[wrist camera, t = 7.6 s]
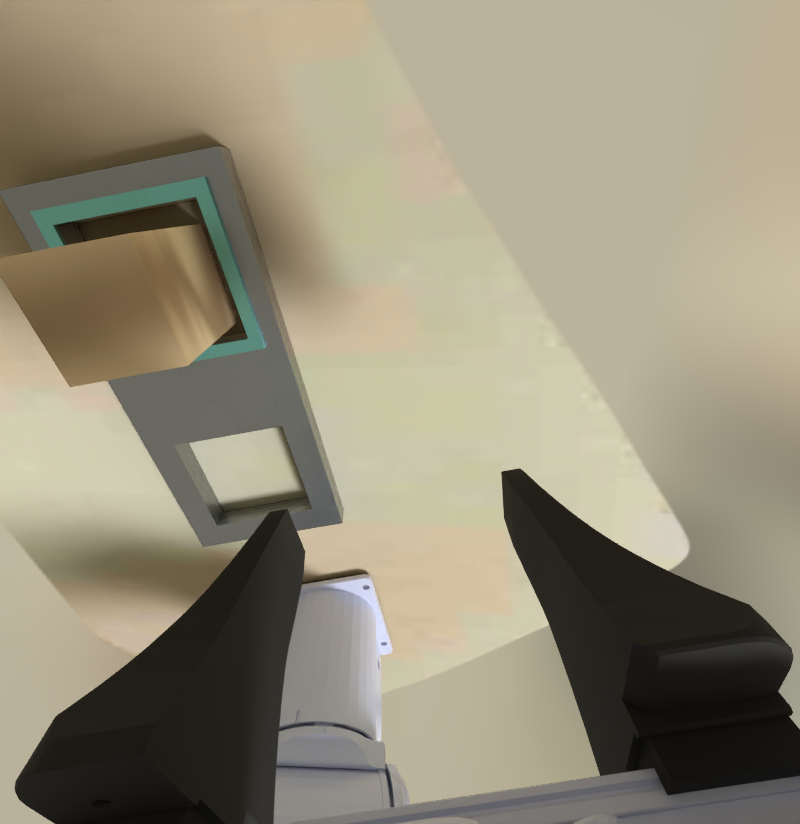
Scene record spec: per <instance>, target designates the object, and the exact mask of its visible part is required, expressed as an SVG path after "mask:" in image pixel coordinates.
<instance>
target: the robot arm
mask: <svg viewBox="0 0 800 824" xmlns="http://www.w3.org/2000/svg"><path fill="white" fill-rule="evenodd" d="M501 473H502V490H503V507H504V519H505V522H506V525H507V528H508V531H509V534H510V537H511V540H512V543H513V546H514V548H515V550H516V553H517V555H518V557H519V559H520V561H521V563H522V565H523V568H524V570H525V572H526V574H527V576H528V578H529V580H530V582H531V585H532V587H533V589H534V591H535V593H536V595H537V597H538V599H539V602H540V604H541V606H542V608H543V610H544V613H545V615H546V617H547V620H548V622H549V625H550V628H551V630H552V633H553V636H554V639H555V641H556V644H557V647H558V650H559V652H560V655H561V658H562V661H563V664H564V666H565V669H566V673H567V675H568V678H569V681H570V684H571V687H572V690H573V693H574V696H575V699H576V702H577V705H578V708H579V711H580V714H581V717H582V720H583V723H584V726H585V729H586V732H587V735H588V738H589V742H590V745H591V748H592V751H593V754H594V757H595V760H596V764H597V767H598V770H599V773H600V776H597V777H590V778H584V779H577V780H570V781H564V782H558V783H550V784H543V785H537V786H530V787H523V788H517V789H510V790H503V791H497V792H490V793H484V794H477V795H470V796H463V797H456V798H449V799H443V800H436V801H429V802H423V803H416V804H410V801H409V795H408V790H407V787H406V784H405V782H404V780H403V778H402V777H401V775H400V773H399V771H398V769H397V767H396V766H395V765H394V764H391V763H389V764H385V743H384V742H380V741H381V733H382V718H381V655H386V654H390V653H391V652H392V644H391V641H390V637H389V634H388V631H387V627H386V624H385V621H384V618H383V614H382V611H381V608H380V605H379V601H378V598H377V595H376V591H375V588H374V585H373V582H372V578H371V577H370V576H369V575H367V574H362V575H356V576H350V577H344V578H338V579H332V580H326V581H320V582H314V583H308V584H302V582H303V573H304V559H305V550H304V548H303V545H302V543H301V540H300V538H299V536H298V533H297V531H296V528H295V526H294V523H293V521H292V518H291V516H290V513H289V511H288V509H283V510H277V511H271V512H269V514H268V515H267V516H266V517H265V519H264V520H263V521H262V522H261V524H260V525H259V526H258V528H257V529H256V530H255V532H254V533H253V534H252V536H251V537H250V538H249V540H248V541H247V542H246V543H245V545H244V546H243V547H242V549H241V550H240V551H239V552H238V554H237V555H236V556H235V557H234V559H233V560H232V561H231V562H230V564H229V565H228V566H227V567H226V568H225V570H224V571H223V572H222V573H221V574H220V575H219V577H218V578H217V579H216V580H215V581H214V582H213V584H212V585H211V586H210V587H209V588H208V589H207V590H206V591H205V593H204V594H203V595H202V596H201V597H200V598H199V599H198V600H197V601H196V602H195V603H194V604H193V605H192V606H191V607H190V608H189V609H188V610H187V611H186V612H185V613H184V614H183V615H182V616H181V617H180V618H179V619H178V620H177V621H176V622H175V623H174V624H173V625H171V626H170V627H169V628H168V629H167V630H166V631H165V632H164V633H163V634H162V635H160V636H159V637H158V638H157V639H156V640H155V641H154V642H153V643H152V644H150V645H149V646H148V647H147V648H146V649H145V650H143V651H142V652H141V653H140V654H139V655H137V656H136V657H135V658H134V659H133V660H131V661H130V662H129V663H128V664H127V665H125V666H124V667H123V668H121V669H120V670H119V671H118V672H116V673H115V674H114V675H112V676H111V677H110V678H109V679H107V680H106V681H105V682H103V683H102V684H101V685H99V686H98V687H97V688H95V689H94V690H92V691H91V692H89V693H88V694H87V695H85V696H84V697H82V698H81V699H80V700H78V701H77V702H76V703H74V704H73V705H71V706H70V707H68V708H67V709H66V710H64V711H63V712H61V713H60V714H58V715H57V716H56V717H55V718H54V720H53V722H52V723H51V725H50V726H49V728H48V730H47V731H46V733H45V735H44V737H43V738H42V739H41V741H40V743H39V744H38V746H37V748H36V749H35V751H34V752H33V754H32V756H31V757H30V759H29V761H28V763H27V764H26V765H25V767H24V769H23V770H22V772H21V774H20V775H19V777H18V778H17V780H16V783H15V792H16V794H17V796H18V798H19V800H20V801H22V802H23V803H24V804H25V805H26V806H28V807H29V808H31V809H33V810H34V811H36V812H37V813H39V814H40V815H42V816H44V817H45V818H47V819H48V820H50V821H52V822H53V823H55V824H800V729H799V728H798V727H797V726H796V725H795V723H794V722H793V721H792V720H791V718H790V717H789V716H791V715H792V713H793V711H792V709H791V707H790V705H789V704H788V703H787V702H786V701H785V699H784V698H783V697H782V696H781V694H780V693H779V692H778V690H779V689H780V687H781V685H782V683H783V681H784V679H785V677H786V676H787V674H788V672H789V670H790V668H791V665H792V661H793V654H792V649H791V647H790V646H789V645H788V644H787V643H786V642H785V641H784V640H783V639H782V638H781V636H780V635H779V634H778V633H777V632H776V631H775V630H774V629H773V628H772V626H771V625H770V624H769V623H768V622H767V621H766V620H765V619H764V618H763V617H762V616H761V615H760V614H758V613H757V612H756V611H755V610H754V609H753V608H752V607H751V606H750V605H749V604H746V603H743V602H741V601H738V600H736V599H733V598H730V597H728V596H726V595H723V594H720V593H718V592H715V591H712V590H710V589H707V588H705V587H702V586H700V585H698V584H695V583H693V582H691V581H689V580H686V579H684V578H682V577H680V576H678V575H675V574H673V573H671V572H669V571H667V570H665V569H663V568H661V567H659V566H657V565H655V564H653V563H651V562H649V561H647V560H645V559H643V558H641V557H640V556H638V555H636V554H634V553H632V552H630V551H629V550H627V549H625V548H623V547H622V546H620V545H618V544H617V543H615V542H613V541H612V540H610V539H609V538H607V537H605V536H604V535H602V534H601V533H599V532H598V531H596V530H595V529H593V528H592V527H591V526H589V525H588V524H586V523H585V522H584V521H582V520H581V519H579V518H578V517H577V516H575V515H574V514H573V513H572V512H570V511H569V510H568V509H566V508H565V507H564V506H563V505H562V504H560V503H559V502H558V501H557V500H555V499H554V498H553V497H552V496H551V495H549V494H548V493H547V492H546V491H545V490H544V489H543V488H541V487H540V486H539V485H538V484H537V483H536V482H535V481H534V480H533V479H531V478H530V477H529V476H528V475H527V474H526V473H525V472H524V471H523V470H521V469H514V470H508V471H503V472H501Z"/></svg>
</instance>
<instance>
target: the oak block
mask: <svg viewBox="0 0 800 824" xmlns="http://www.w3.org/2000/svg"><path fill="white" fill-rule="evenodd" d="M0 276H1V278H2V279H3V281H4V283H5V284H6V286H7V287H8V289H9V291H10V292H11V294H12V295H13V297H14V299H15V300H16V302H17V303H18V305H19V307H20V308H21V310H22V311H23V313H24V314H25V316H26V318H27V319H28V321H29V322H30V324H31V326H32V327H33V329H34V330H35V332H36V334H37V335H38V337H39V338H40V340H41V342H42V343H43V345H44V346H45V348H46V350H47V351H48V353H49V354H50V356H51V358H52V359H53V361H54V362H55V364H56V366H57V367H58V369H59V370H60V372H61V374H62V375H63V377H64V378H65V380H66V382H67V383H68V385H69V386H70V387H73V386H79V385H84V384H90V383H95V382H101V381H107V380H112V379H118V378H123V377H129V376H134V375H140V374H145V373H151V372H157V371H162V370H168V369H173V368H179V367H184V366H188V365H189V364H190V363H192V362H193V361H194V360H195V359H196V358H197V357H198V356H200V355H201V354H202V353H203V352H204V351H205V350H206V349H207V348H209V347H210V346H211V345H212V344H213V343H214V342H215V341H216V340H218V339H219V338H220V337H221V336H222V335H223V334H224V333H225V332H227V331H228V330H229V329H230V328H231V327H232V326H233V325H234V324H236V323H237V319H236V316H235V314H234V311H233V308H232V306H231V303H230V300H229V297H228V295H227V292H226V289H225V287H224V284H223V281H222V278H221V276H220V273H219V270H218V268H217V265H216V262H215V260H214V257H213V254H212V251H211V249H210V246H209V243H208V241H207V238H206V235H205V232H204V230H203V227H202V224H194V225H187V226H180V227H172V228H165V229H157V230H150V231H143V232H135V233H128V234H122V235H117V236H112V237H107V238H101V239H96V240H91V241H86V242H81V243H75V244H70V245H65V246H60V247H54V248H49V249H44V250H39V251H33V252H28V253H23V254H18V255H12V256H7V257H2V258H0Z"/></svg>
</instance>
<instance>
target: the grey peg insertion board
mask: <svg viewBox="0 0 800 824" xmlns="http://www.w3.org/2000/svg"><path fill="white" fill-rule="evenodd" d="M0 196H1V197H2V199H3V201H4V202H5V204H6V206H7V208H8V209H9V211H10V213H11V215H12V216H13V218H14V220H15V222H16V223H17V225H18V227H19V228H20V230H21V232H22V234H23V235H24V237H25V239H26V241H27V242H28V244H29V246H30V247H31V249H32V251H39V250H44V249H49V248H54V247H60V246H65V245H70V244H75V243H81V242H85V240H84V239H83V237H82V235H81V233H80V231H79V229H78V227H77V225H76V223H80V222H85V221H90V220H95V219H100V218H105V217H110V216H115V215H120V214H125V213H130V212H135V211H140V210H145V209H150V208H155V207H160V206H166V205H171V204H176V203H181V202H186V201H191V200H196V199H197V201H198V204H199V207H200V209H201V212H202V215H203V217H204V220H205V223H206V226H207V228H208V231H209V234H210V236H211V239H212V242H213V244H214V247H215V250H216V253H217V255H218V258H219V261H220V263H221V266H222V269H223V272H224V274H225V277H226V280H227V282H228V285H229V288H230V291H231V293H232V296H233V299H234V301H235V304H236V307H237V310H238V312H239V315H240V318H241V320H242V323H243V326H244V329H245V331H246V332H244V333H239V334H233V335H228V336H223V337H220V338H219V339H218V340H216V341H215V342H214V343H213V344H212V345H211V346H210V347H209V348H207V349H206V350H205V351H204V352H203V353H202V354H201V355H200V356H198V357H197V358H196V359H195V360H194V361H193V362H192V363H190V364H189V365H188V366H184V367H179V368H173V369H168V370H162V371H157V372H151V373H145V374H140V375H134V376H129V377H123V378H118V379H112V380H107V381H108V383H109V384H110V386H111V388H112V389H113V391H114V393H115V395H116V396H117V398H118V400H119V402H120V403H121V405H122V407H123V409H124V410H125V412H126V414H127V415H128V417H129V419H130V421H131V422H132V424H133V426H134V428H135V429H136V431H137V433H138V435H139V436H140V438H141V440H142V441H143V443H144V445H145V447H146V448H147V450H148V452H149V454H150V455H151V457H152V459H153V461H154V462H155V464H156V466H157V467H158V469H159V471H160V473H161V474H162V476H163V478H164V480H165V481H166V483H167V485H168V486H169V488H170V490H171V492H172V493H173V495H174V497H175V499H176V500H177V502H178V504H179V506H180V507H181V509H182V511H183V512H184V514H185V516H186V518H187V519H188V521H189V523H190V525H191V526H192V528H193V530H194V532H195V533H196V535H197V537H198V538H199V540H200V542H201V544H202V545H203V547H205V546H211V545H217V544H223V543H229V542H235V541H240V540H246V539H249V538H250V537H251V536H252V534H253V533H254V532H255V530H256V529H257V528H258V526H259V525H260V524H261V522H262V521H263V520H264V519H265V517H266V516H267V515H268V514H269V512H271V511H277V510H283V509H288V511H289V513H290V516H291V518H292V521H293V523H294V526H295V528H296V531H299V530H305V529H310V528H316V527H322V526H328V525H334V524H340V523H342V522H343V511H344V509H343V506H342V503H341V500H340V497H339V494H338V490H337V487H336V484H335V481H334V478H333V475H332V472H331V468H330V465H329V462H328V459H327V456H326V453H325V449H324V446H323V443H322V440H321V437H320V434H319V431H318V427H317V424H316V421H315V418H314V415H313V412H312V408H311V405H310V402H309V399H308V396H307V393H306V389H305V386H304V383H303V380H302V377H301V374H300V371H299V367H298V364H297V361H296V358H295V355H294V352H293V348H292V345H291V342H290V339H289V336H288V333H287V330H286V326H285V323H284V320H283V317H282V314H281V311H280V307H279V304H278V301H277V298H276V295H275V292H274V289H273V285H272V282H271V279H270V276H269V273H268V270H267V266H266V263H265V260H264V257H263V254H262V251H261V247H260V244H259V241H258V238H257V235H256V232H255V229H254V225H253V222H252V219H251V216H250V213H249V210H248V206H247V203H246V200H245V197H244V194H243V191H242V188H241V184H240V181H239V178H238V175H237V172H236V169H235V165H234V162H233V159H232V156H231V153H230V150H229V149H227V148H224V147H221V146H216V147H211V148H206V149H201V150H196V151H191V152H186V153H182V154H177V155H172V156H167V157H162V158H157V159H152V160H147V161H142V162H137V163H132V164H127V165H122V166H117V167H112V168H107V169H102V170H97V171H92V172H87V173H82V174H77V175H72V176H68V177H63V178H58V179H53V180H48V181H43V182H38V183H33V184H28V185H23V186H18V187H13V188H8V189H3V190H0ZM279 426H282V428H283V430H284V433H285V436H286V438H287V441H288V444H289V447H290V449H291V452H292V455H293V458H294V460H295V463H296V466H297V468H298V471H299V474H300V477H301V479H302V482H303V485H304V488H305V490H306V493H307V496H308V498H302V499H296V500H291V501H285V502H279V503H273V504H268V505H262V506H256V507H250V508H244V509H239V510H233V511H227V512H223V510H222V508H221V506H220V504H219V502H218V500H217V498H216V496H215V494H214V492H213V490H212V488H211V486H210V485H209V483H208V481H207V479H206V477H205V475H204V473H203V471H202V469H201V467H200V465H199V463H198V461H197V459H196V457H195V455H194V453H193V451H192V449H191V447H190V445H189V444H188V443H190V442H196V441H201V440H207V439H212V438H218V437H224V436H229V435H235V434H240V433H246V432H251V431H257V430H263V429H268V428H274V427H279Z"/></svg>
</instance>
